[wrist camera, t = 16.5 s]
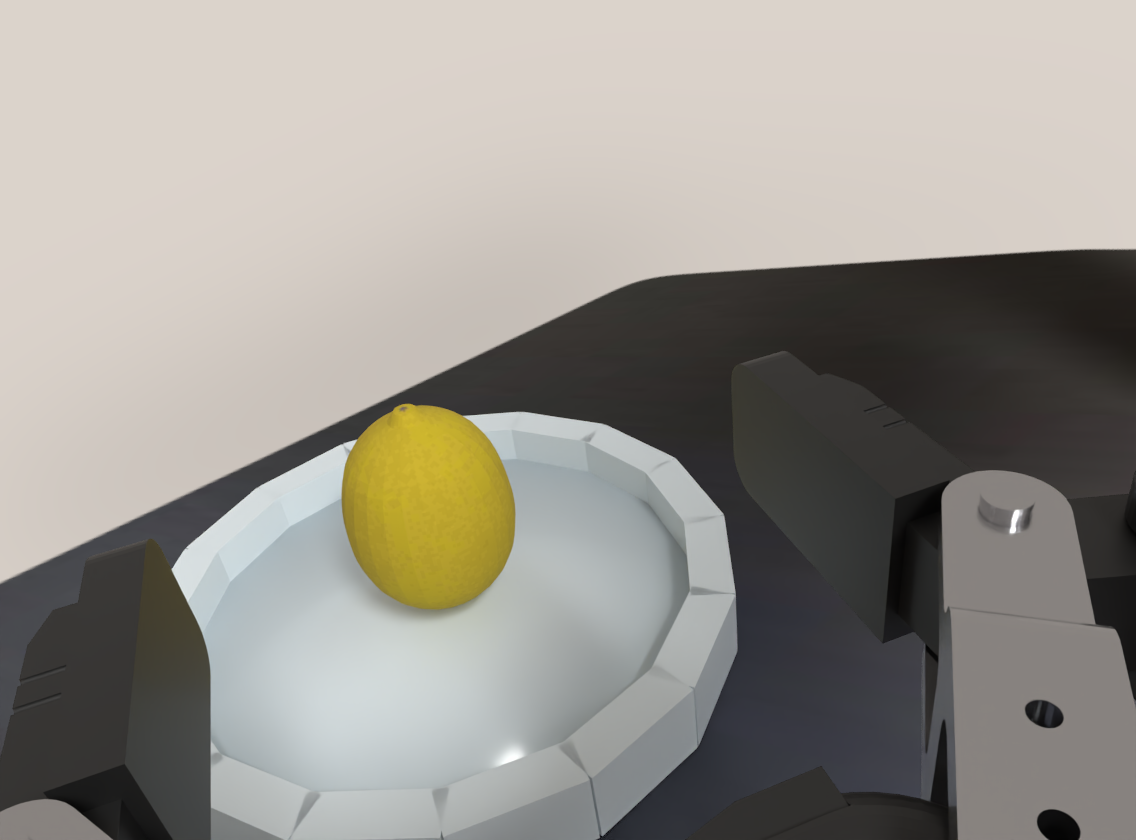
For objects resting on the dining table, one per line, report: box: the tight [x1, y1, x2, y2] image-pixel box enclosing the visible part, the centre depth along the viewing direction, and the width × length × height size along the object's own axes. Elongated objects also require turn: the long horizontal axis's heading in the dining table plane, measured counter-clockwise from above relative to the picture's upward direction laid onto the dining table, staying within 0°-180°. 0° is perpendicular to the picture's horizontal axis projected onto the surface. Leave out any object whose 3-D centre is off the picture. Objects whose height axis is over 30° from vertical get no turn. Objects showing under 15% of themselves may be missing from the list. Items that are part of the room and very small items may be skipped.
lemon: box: [341, 404, 516, 610], centre depth 30 cm, size 6×6×8 cm
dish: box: [172, 412, 738, 840], centre depth 32 cm, size 20×20×2 cm
